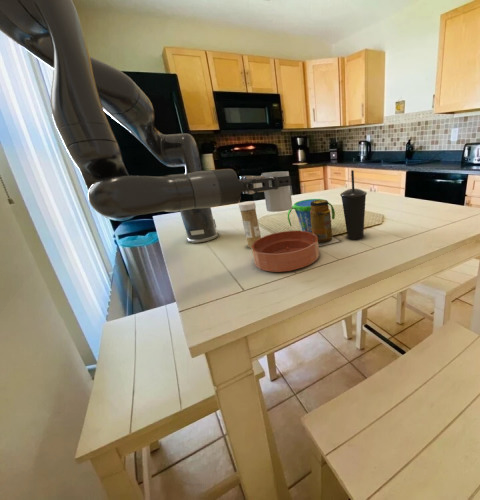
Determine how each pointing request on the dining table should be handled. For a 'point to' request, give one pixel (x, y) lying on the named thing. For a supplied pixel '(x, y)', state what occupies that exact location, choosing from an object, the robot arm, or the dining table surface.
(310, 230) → the snack cup
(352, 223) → the drinking cup
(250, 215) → the sprinkles bottle
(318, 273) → the dining table surface
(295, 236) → the bowl
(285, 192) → the white cup
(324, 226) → the condiment
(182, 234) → the dining table surface
